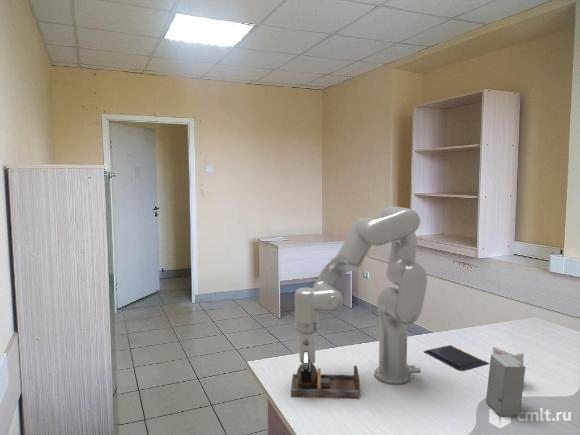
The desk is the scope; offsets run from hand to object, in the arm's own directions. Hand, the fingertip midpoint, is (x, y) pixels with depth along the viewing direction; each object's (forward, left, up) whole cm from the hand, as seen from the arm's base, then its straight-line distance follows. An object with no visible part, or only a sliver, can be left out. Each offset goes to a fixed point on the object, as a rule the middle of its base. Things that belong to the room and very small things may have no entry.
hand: (306, 375), depth 145 cm
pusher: (-6, 0, -3) cm, 7 cm away
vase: (0, 0, -4) cm, 4 cm away
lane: (-6, 0, -4) cm, 8 cm away
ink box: (-68, -7, -5) cm, 69 cm away
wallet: (-57, -27, -5) cm, 63 cm away
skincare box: (-60, +10, -5) cm, 61 cm away
